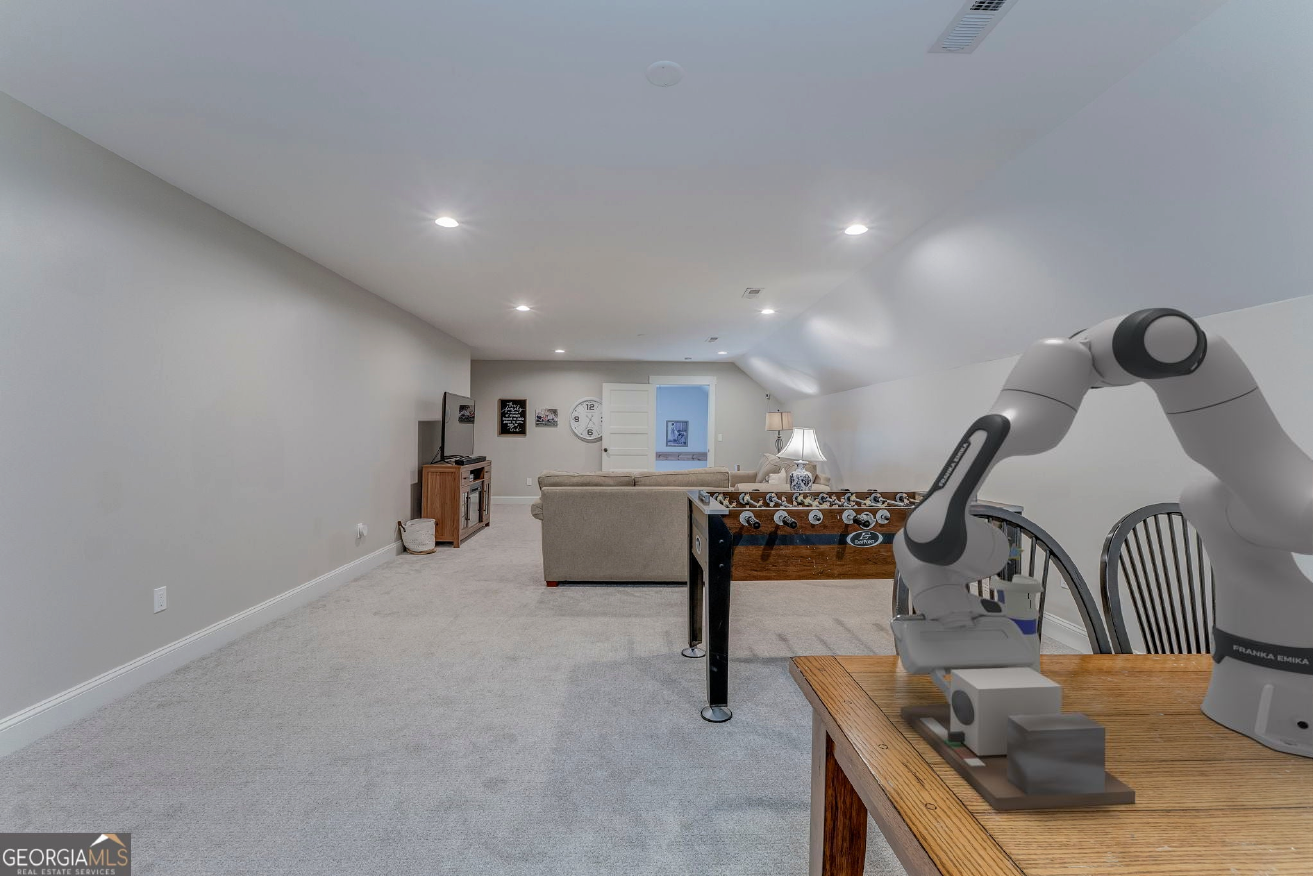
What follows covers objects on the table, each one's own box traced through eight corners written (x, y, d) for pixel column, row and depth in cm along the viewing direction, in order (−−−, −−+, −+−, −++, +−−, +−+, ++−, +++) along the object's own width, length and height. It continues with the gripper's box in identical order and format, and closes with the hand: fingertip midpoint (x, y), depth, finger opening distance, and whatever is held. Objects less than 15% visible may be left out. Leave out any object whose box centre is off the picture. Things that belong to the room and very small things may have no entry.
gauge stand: (900, 715, 87) (900, 657, 87) (1006, 711, 88) (1006, 654, 88) (996, 810, 65) (996, 732, 65) (1135, 803, 67) (1135, 726, 66)
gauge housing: (936, 731, 79) (936, 670, 79) (1028, 728, 80) (1028, 667, 80) (974, 767, 70) (975, 698, 70) (1076, 762, 71) (1077, 695, 71)
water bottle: (977, 673, 103) (978, 542, 103) (1023, 674, 103) (1024, 542, 102) (1003, 693, 95) (1004, 551, 95) (1053, 694, 94) (1054, 551, 94)
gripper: (893, 606, 87) (928, 696, 77) (1014, 603, 88) (1063, 691, 79) (879, 624, 91) (911, 711, 82) (994, 621, 93) (1038, 706, 83)
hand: (986, 701), depth 80 cm, fingers open, 8 cm apart
